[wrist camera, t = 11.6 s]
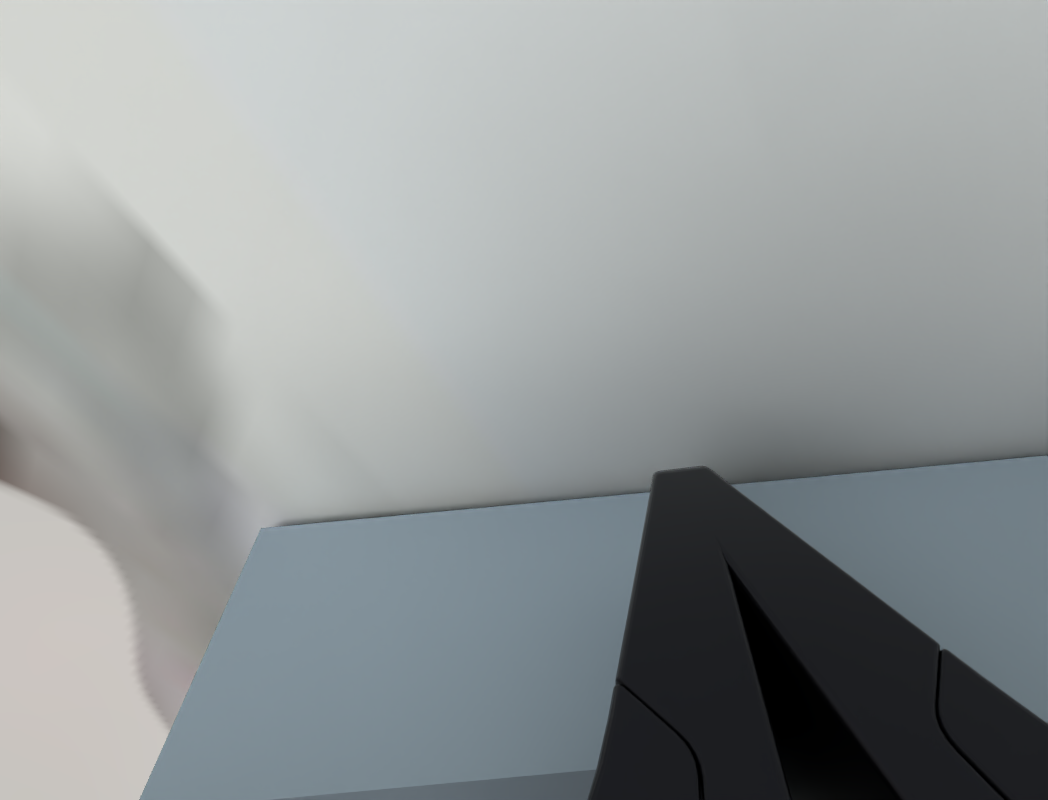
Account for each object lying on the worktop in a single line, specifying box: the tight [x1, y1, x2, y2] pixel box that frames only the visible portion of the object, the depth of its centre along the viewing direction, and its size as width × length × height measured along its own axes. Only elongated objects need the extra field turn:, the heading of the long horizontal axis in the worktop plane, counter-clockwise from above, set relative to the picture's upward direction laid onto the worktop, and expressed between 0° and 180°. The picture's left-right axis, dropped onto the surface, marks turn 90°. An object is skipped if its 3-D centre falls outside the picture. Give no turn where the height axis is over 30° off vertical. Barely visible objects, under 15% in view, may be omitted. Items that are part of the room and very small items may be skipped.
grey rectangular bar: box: [139, 455, 1048, 800], centre depth 9 cm, size 15×2×4 cm, turn 95°
